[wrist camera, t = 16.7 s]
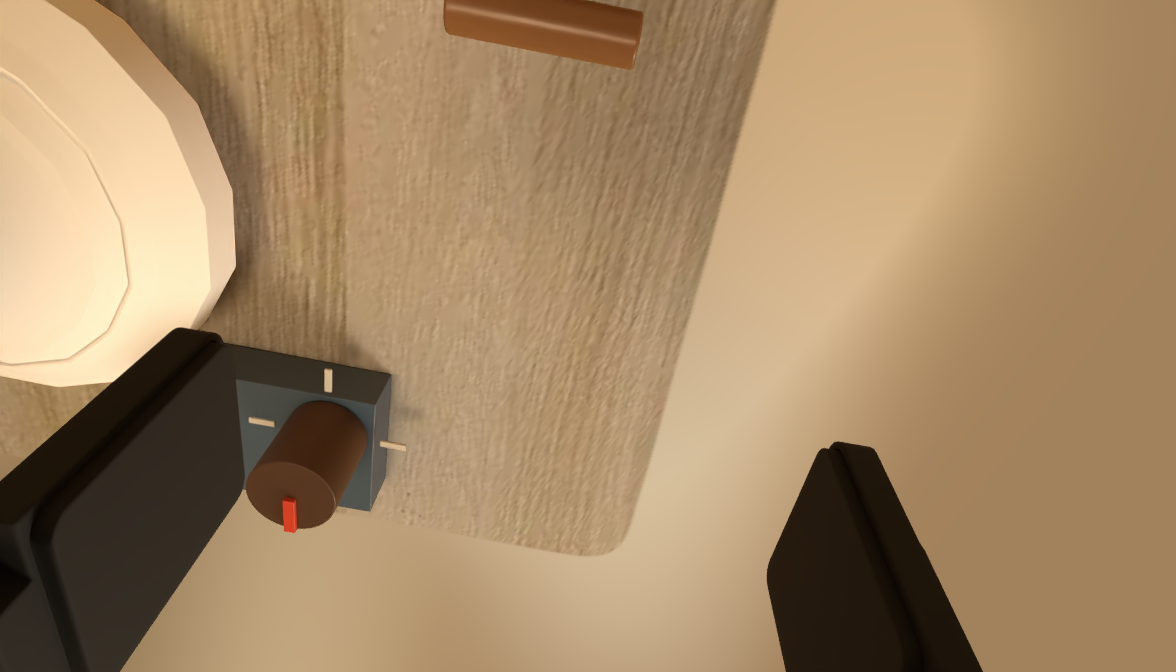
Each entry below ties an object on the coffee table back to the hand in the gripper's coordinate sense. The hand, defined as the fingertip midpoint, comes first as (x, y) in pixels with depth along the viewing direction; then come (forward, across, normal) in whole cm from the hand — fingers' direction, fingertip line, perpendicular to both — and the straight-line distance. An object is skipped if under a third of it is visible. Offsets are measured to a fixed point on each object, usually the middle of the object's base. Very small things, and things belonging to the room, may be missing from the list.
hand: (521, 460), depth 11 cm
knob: (+21, +11, +19) cm, 31 cm away
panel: (+24, +13, +19) cm, 34 cm away
